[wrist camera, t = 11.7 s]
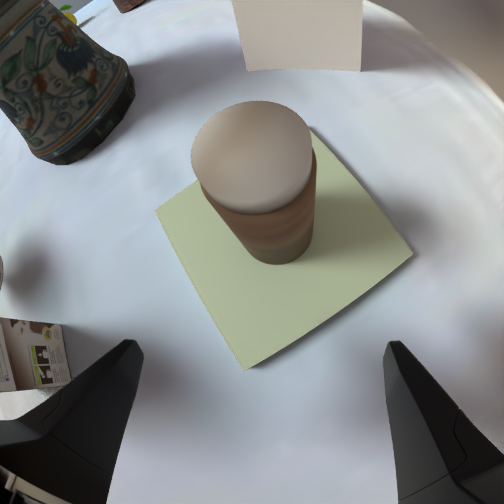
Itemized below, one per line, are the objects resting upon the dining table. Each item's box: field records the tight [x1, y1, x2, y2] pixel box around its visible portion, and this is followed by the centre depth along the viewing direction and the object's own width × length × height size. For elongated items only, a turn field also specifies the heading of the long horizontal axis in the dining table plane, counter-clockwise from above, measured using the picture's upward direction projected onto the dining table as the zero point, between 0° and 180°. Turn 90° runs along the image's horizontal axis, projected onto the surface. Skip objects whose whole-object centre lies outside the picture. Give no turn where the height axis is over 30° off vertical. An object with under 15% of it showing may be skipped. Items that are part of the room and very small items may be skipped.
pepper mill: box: [191, 101, 317, 265], centre depth 15 cm, size 5×5×10 cm
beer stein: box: [0, 0, 136, 165], centre depth 18 cm, size 16×19×25 cm
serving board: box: [154, 129, 413, 371], centre depth 20 cm, size 14×14×1 cm
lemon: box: [59, 5, 77, 24], centre depth 40 cm, size 7×6×10 cm
